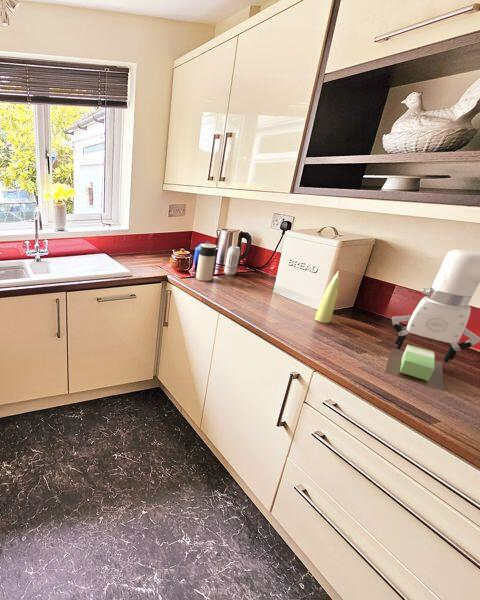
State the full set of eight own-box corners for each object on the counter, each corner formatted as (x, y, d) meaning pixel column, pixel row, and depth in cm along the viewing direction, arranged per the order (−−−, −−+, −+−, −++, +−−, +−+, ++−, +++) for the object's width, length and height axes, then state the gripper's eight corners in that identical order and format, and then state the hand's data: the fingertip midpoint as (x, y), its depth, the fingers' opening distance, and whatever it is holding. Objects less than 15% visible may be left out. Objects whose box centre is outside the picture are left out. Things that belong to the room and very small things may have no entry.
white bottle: (223, 274, 184) (228, 247, 178) (224, 271, 189) (228, 245, 183) (235, 276, 182) (240, 249, 176) (235, 273, 187) (240, 246, 181)
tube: (334, 324, 128) (350, 275, 120) (321, 324, 127) (337, 275, 120) (323, 317, 133) (338, 270, 126) (311, 318, 133) (325, 271, 125)
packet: (428, 363, 102) (434, 351, 101) (428, 381, 93) (434, 368, 91) (402, 355, 106) (407, 344, 105) (399, 372, 97) (404, 359, 95)
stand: (441, 363, 103) (442, 362, 103) (442, 392, 90) (443, 390, 90) (390, 349, 111) (391, 347, 111) (384, 373, 98) (384, 372, 97)
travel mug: (214, 280, 174) (220, 246, 167) (201, 281, 172) (206, 247, 165) (206, 276, 181) (211, 243, 174) (192, 277, 179) (197, 244, 173)
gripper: (403, 292, 91) (380, 346, 97) (500, 312, 79) (466, 372, 86) (405, 285, 96) (382, 338, 102) (496, 303, 84) (465, 361, 91)
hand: (421, 353), depth 94 cm, fingers open, 9 cm apart
